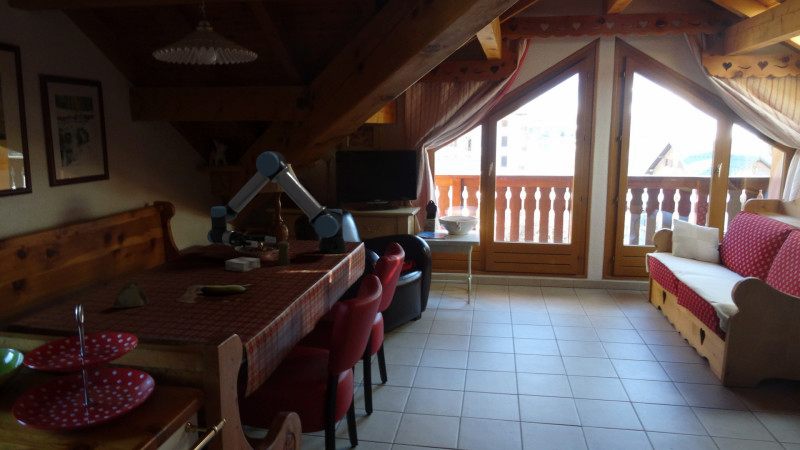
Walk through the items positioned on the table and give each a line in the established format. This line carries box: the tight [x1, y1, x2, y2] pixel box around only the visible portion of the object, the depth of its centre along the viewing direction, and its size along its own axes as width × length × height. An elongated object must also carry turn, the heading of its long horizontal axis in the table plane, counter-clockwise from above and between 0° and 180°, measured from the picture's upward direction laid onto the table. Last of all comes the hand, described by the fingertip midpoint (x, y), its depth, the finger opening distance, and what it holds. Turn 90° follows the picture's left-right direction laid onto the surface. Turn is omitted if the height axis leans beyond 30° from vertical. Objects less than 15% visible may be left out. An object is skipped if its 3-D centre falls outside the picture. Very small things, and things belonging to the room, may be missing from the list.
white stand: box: [225, 256, 261, 273], centre depth 254 cm, size 11×11×4 cm
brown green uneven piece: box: [174, 283, 252, 304], centre depth 212 cm, size 35×27×4 cm
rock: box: [112, 280, 150, 309], centre depth 196 cm, size 11×9×10 cm
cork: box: [277, 240, 291, 266], centre depth 262 cm, size 6×6×11 cm
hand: (266, 242), depth 266 cm, fingers open, 13 cm apart
